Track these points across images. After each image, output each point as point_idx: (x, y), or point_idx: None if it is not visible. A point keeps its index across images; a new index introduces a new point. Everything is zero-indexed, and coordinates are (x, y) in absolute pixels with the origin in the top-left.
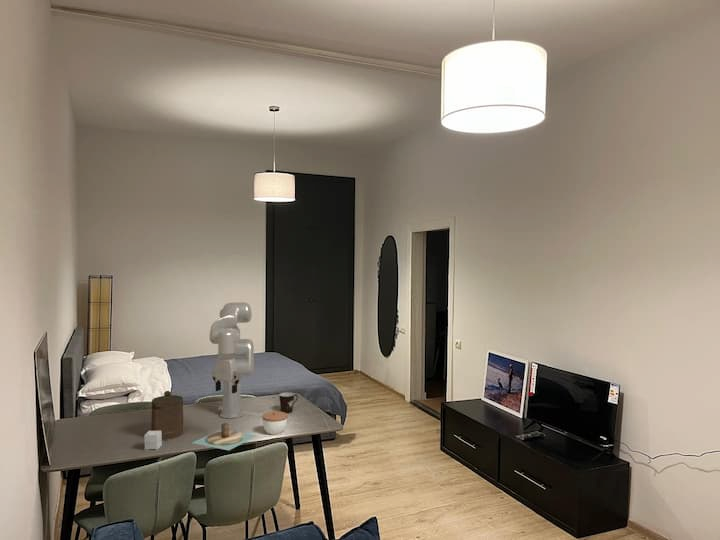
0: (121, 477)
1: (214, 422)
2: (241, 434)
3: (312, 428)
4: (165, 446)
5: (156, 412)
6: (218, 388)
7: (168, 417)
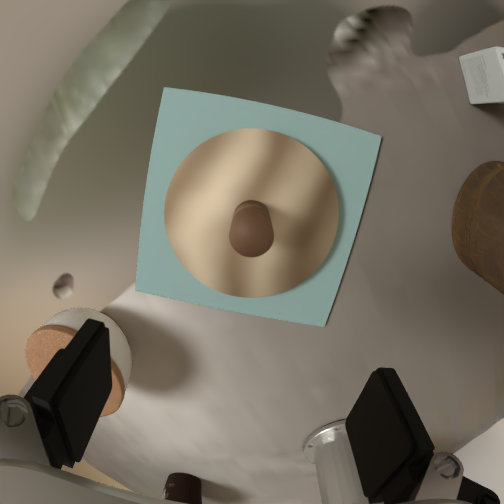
0: None
1: None
2: (189, 265)
3: (34, 379)
4: (456, 97)
5: None
6: (370, 410)
7: None
